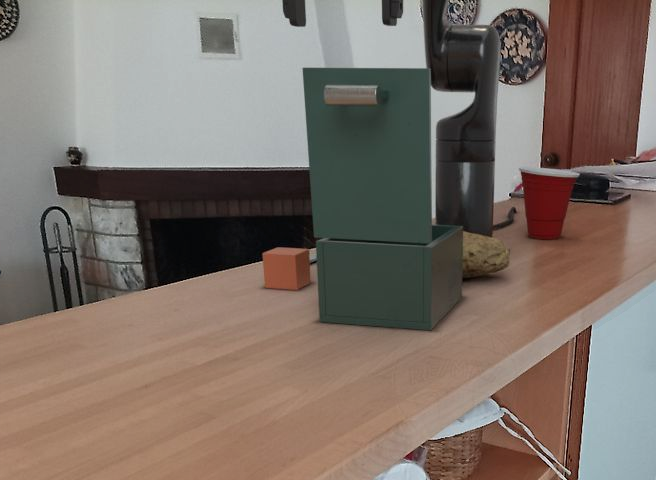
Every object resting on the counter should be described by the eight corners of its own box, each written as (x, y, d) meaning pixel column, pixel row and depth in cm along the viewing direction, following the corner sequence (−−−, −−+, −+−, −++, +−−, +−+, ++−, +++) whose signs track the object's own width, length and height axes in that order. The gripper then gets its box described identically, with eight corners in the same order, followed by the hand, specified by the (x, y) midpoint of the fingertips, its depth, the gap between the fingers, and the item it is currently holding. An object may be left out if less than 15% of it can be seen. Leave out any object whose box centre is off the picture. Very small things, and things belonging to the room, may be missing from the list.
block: (279, 280, 104) (277, 247, 103) (311, 282, 103) (309, 248, 102) (264, 288, 100) (262, 253, 99) (297, 290, 99) (295, 255, 98)
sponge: (350, 286, 108) (474, 272, 97) (346, 228, 107) (470, 208, 96) (406, 286, 118) (523, 274, 108) (403, 234, 118) (520, 217, 107)
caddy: (365, 290, 100) (363, 221, 96) (462, 297, 97) (463, 225, 94) (319, 322, 85) (315, 241, 82) (430, 330, 83) (431, 247, 80)
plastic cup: (579, 242, 137) (584, 171, 132) (517, 241, 137) (520, 170, 133) (571, 232, 147) (576, 166, 143) (514, 231, 147) (517, 165, 143)
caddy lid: (305, 67, 76) (282, 68, 71) (430, 68, 73) (416, 69, 69) (316, 236, 82) (296, 246, 78) (432, 242, 80) (418, 253, 75)
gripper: (432, -186, 65) (431, 29, 71) (273, -177, 68) (285, 29, 73) (407, -220, 58) (409, 21, 64) (232, -208, 61) (248, 22, 67)
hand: (343, 25), depth 69 cm, fingers open, 8 cm apart
